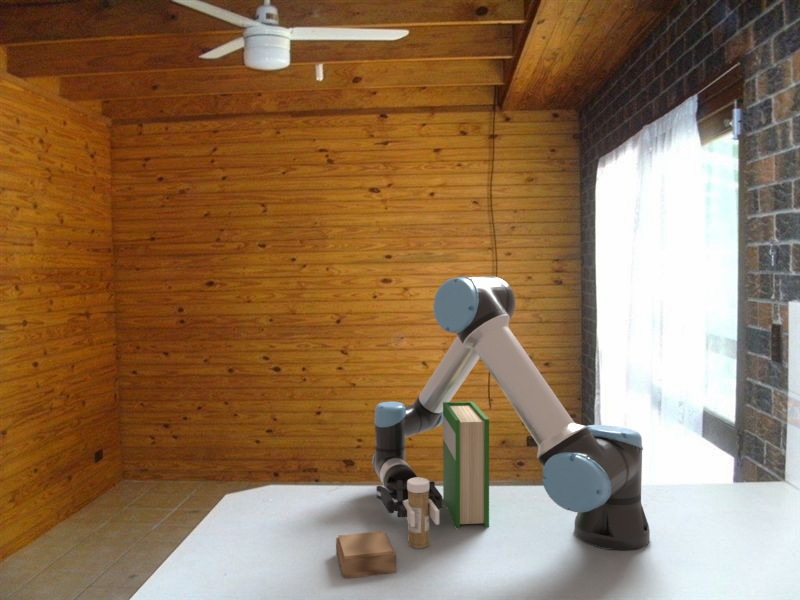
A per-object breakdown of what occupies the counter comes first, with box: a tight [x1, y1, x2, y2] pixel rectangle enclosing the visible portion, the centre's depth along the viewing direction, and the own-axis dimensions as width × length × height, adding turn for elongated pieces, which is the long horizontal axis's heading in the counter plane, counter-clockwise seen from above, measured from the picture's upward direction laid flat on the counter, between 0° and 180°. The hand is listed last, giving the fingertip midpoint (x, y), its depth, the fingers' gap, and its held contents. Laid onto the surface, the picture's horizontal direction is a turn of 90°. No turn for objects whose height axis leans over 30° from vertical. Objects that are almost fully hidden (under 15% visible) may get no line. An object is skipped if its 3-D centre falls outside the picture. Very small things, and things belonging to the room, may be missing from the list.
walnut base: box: [335, 530, 397, 580], centre depth 123 cm, size 10×10×4 cm
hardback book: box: [442, 401, 490, 529], centre depth 147 cm, size 18×7×24 cm, turn 5°
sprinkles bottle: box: [407, 476, 431, 549], centre depth 130 cm, size 5×5×14 cm
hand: (425, 518), depth 125 cm, fingers closed on sprinkles bottle, 4 cm apart
